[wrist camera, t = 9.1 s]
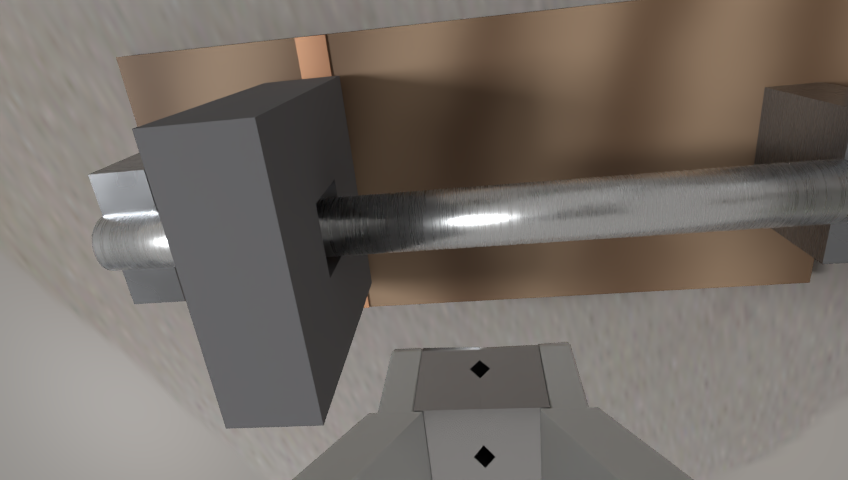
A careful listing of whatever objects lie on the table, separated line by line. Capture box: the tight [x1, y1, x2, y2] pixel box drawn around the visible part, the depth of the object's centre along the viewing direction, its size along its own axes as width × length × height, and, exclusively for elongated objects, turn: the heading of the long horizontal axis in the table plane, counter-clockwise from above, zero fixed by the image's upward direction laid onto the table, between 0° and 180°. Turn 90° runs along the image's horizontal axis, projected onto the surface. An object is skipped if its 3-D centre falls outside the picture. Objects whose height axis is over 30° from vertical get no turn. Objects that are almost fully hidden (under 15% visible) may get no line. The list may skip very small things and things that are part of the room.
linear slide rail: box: [88, 82, 848, 304], centre depth 19 cm, size 26×5×6 cm, turn 96°
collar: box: [132, 76, 372, 428], centre depth 18 cm, size 3×9×9 cm, turn 6°
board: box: [116, 0, 848, 308], centre depth 22 cm, size 28×12×1 cm, turn 96°
